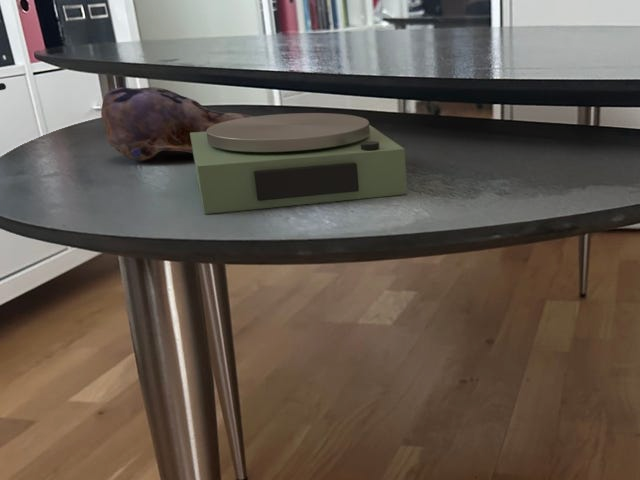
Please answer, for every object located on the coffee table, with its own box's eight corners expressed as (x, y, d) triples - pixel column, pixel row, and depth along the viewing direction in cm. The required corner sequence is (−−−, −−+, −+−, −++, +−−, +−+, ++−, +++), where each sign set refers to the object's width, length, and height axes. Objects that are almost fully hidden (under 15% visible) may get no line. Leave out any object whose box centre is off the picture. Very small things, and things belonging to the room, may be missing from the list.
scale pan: (204, 130, 62) (202, 119, 62) (352, 119, 65) (351, 109, 65) (212, 157, 53) (210, 144, 52) (386, 144, 56) (385, 131, 55)
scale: (196, 173, 64) (188, 127, 63) (365, 158, 68) (362, 114, 66) (205, 216, 52) (196, 160, 51) (408, 195, 56) (406, 143, 55)
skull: (271, 139, 73) (256, 66, 70) (248, 170, 67) (230, 91, 64) (136, 148, 74) (115, 76, 71) (100, 179, 68) (75, 102, 64)
